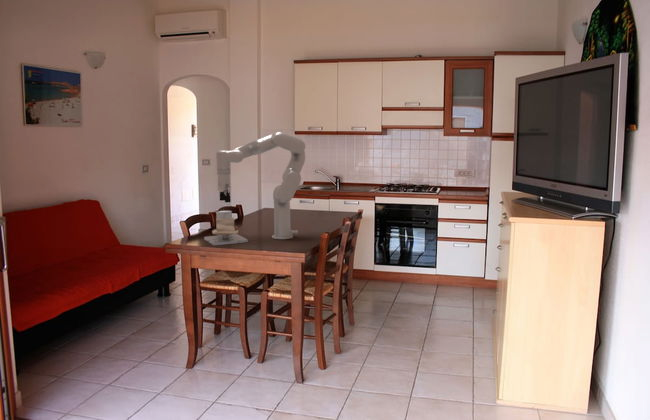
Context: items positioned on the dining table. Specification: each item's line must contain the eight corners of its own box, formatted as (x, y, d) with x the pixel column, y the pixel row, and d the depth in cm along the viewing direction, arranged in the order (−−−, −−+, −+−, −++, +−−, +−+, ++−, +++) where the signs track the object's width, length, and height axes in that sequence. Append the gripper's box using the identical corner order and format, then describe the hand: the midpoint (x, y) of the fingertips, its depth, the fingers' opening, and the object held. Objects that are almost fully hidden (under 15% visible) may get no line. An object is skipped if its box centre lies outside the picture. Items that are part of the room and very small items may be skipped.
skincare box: (224, 236, 340) (223, 212, 338) (216, 235, 343) (215, 211, 341) (232, 234, 347) (232, 210, 345) (225, 233, 350) (224, 209, 348)
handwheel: (212, 235, 332) (211, 217, 331) (237, 234, 336) (237, 216, 334) (213, 240, 318) (212, 221, 316) (239, 239, 321) (239, 220, 320)
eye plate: (236, 236, 340) (236, 233, 340) (247, 242, 323) (247, 239, 323) (204, 239, 331) (204, 236, 331) (213, 245, 314) (213, 242, 314)
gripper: (213, 171, 327) (214, 200, 330) (221, 173, 312) (223, 203, 315) (225, 170, 331) (226, 199, 333) (234, 172, 315) (236, 202, 318)
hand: (225, 201), depth 324 cm, fingers open, 9 cm apart
